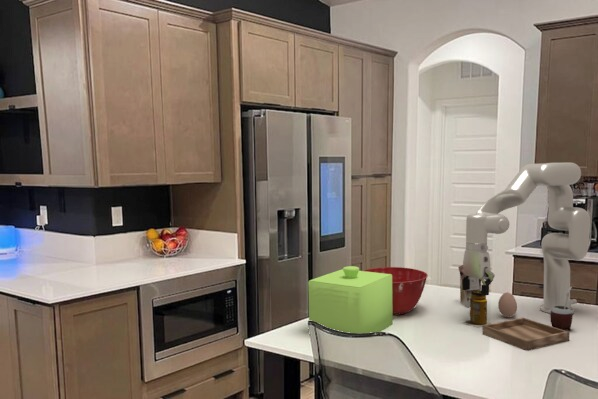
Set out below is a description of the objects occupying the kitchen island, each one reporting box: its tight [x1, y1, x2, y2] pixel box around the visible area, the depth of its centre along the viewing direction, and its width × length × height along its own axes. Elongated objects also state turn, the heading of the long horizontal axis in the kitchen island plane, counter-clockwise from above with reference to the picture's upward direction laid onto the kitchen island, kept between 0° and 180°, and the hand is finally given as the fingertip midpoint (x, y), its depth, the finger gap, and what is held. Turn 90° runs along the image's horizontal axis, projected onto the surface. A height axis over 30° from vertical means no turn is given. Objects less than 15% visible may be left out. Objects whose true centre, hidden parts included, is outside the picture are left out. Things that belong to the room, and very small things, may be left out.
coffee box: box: [459, 274, 482, 308], centre depth 221 cm, size 9×6×16 cm
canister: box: [307, 265, 394, 333], centre depth 191 cm, size 25×21×23 cm
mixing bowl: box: [362, 266, 429, 316], centre depth 214 cm, size 28×28×16 cm
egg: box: [497, 292, 518, 318], centre depth 201 cm, size 7×7×10 cm
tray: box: [482, 317, 570, 351], centre depth 178 cm, size 20×19×3 cm
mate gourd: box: [549, 285, 573, 332], centre depth 185 cm, size 8×8×15 cm
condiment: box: [461, 290, 492, 328], centre depth 194 cm, size 7×8×12 cm
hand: (475, 292), depth 194 cm, fingers open, 9 cm apart
